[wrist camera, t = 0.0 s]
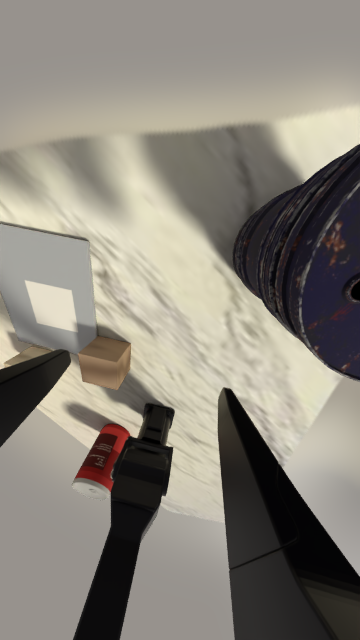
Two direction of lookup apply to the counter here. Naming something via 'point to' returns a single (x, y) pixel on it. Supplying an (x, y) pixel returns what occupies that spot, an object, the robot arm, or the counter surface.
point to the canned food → (101, 463)
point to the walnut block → (105, 362)
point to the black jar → (311, 262)
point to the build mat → (48, 288)
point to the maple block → (26, 355)
